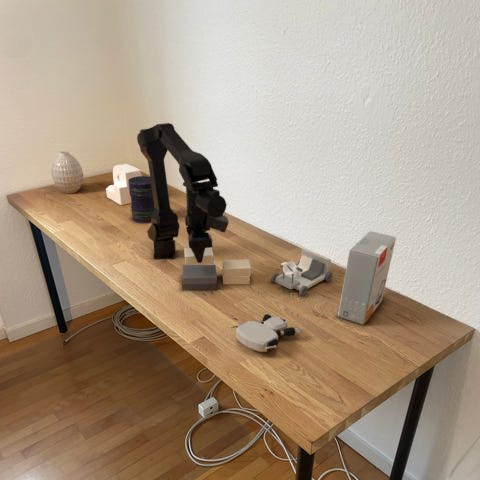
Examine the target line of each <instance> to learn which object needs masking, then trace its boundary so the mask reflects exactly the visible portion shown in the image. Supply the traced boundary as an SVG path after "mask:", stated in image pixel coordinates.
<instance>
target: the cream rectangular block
mask: <svg viewBox="0 0 480 480" xmlns="http://www.w3.org/2000/svg"><path fill="white" fill-rule="evenodd" d="M212 247H213V246H212ZM212 247H211V248H205V251H204V255H203V259H202V262H201V263H198V262H197V260H196V258H195V256H194V254H193V252H192V250H191V248H189V247H183V250H184V252H183V253H184V255H183V256H184V262H185V265H214V264H215V260H214V259H215V257H214V251H213V248H212Z"/></svg>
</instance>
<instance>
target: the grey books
mask: <svg viewBox="0 0 480 480" xmlns="http://www.w3.org/2000/svg"><path fill="white" fill-rule="evenodd" d="M217 278H218V276H217V267H216V264H194V265H186V264H183V265H182V278H181V291H217V283H218V279H217Z"/></svg>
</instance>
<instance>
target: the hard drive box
mask: <svg viewBox="0 0 480 480" xmlns="http://www.w3.org/2000/svg"><path fill="white" fill-rule="evenodd" d="M396 240H397V236H393V235H390V234H385V233H382V232H381V233H380V232H377V231H372V230H369V232H367V233H366V234H365V235H364V236H363V237H362V238H361V239H360V240H359V241H358V242H357V243H356V244H355V245H354V246H352V248H350V249H349V251H348V256H347V262H346V263H347V264H346V267H345V274H344V279H343V283H342V284H343V285H342V290H341V296H340V301H339V305H338V312H337V317H339V318H341V319H344V320H347V321H350V322H352V323H353V322H354V323H356V324H360V325H362V326H363V325H365V324H366V322H367V321H368V320H369V319H370V318H371V316H372V315H373V313H374V312H375V311H376V309H377V308H378V307H379V305H380V304H381V303H382V301H383V297H384V293H385V288H386V285H387V284H386V283H387V280H388V275H389V271H390V266H391V261H392V257H393V254H394V248H395V245H396Z"/></svg>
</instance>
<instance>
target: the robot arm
mask: <svg viewBox="0 0 480 480" xmlns="http://www.w3.org/2000/svg"><path fill="white" fill-rule="evenodd" d="M136 140H137V144H138V146H139V150H140V152H141V154H142V155H143V156H144V158H145V159H146V161H147V164H148V171H149V177H150V179H151V186H152V193H153V200H154V207H155V209H154V211H153V214H152V216H151V223H150V226H149V227H148V229H147V230H146V232H147V237H148V239H150V240H151V241H152V242H153V259H156V260H158V259H160V260H161V259H174V258H175V255H176V252H177V249H176V248H177V247H176V245H177V244H176V240H175V239H174V238H178V237H179V232H180V223H179V217H178V214H177V213H175V211H174V210H173V209H172V208H171V202H170V196H169V188H168V180H167V179H168V178H167V172H166V166H165V165H166V163H165V158H166V156H167V153H169V154H170V155H171V156H172V158H173V159H174V160H175V161H176V162H177V164H178V172H179V174H180V176H181V178H182V180H183V182H182V186H183V187H185V194H186V197H185V198H186V215H185V216H184V223H185V230H186V233H187V235H188V236H187V239H188V240H187V241H188V248H191V250H192V252H193V254H194V256H195V258H196V260H197V262H198V263H201V262H202V259H203V255H204V251H205V248H211V247H213V239H212V235H211V234H210V233H209V232H207V231H211V229H213V230H216V231H219V232H221V233H226V231H227V228H228V226H229V223H230V222H229V218H228V217H227V216H226V215H225V212H226V210H227V201H226V199H225V198H224V196H222V195H221V193H220V190H218V189H215V188H218V187H219V184H218V177H217V176H216V173H215V171H214V168H213V167H212V166H213V165H212V164H211V162H210V160H209V159H208V158H207V157H205V155H204V154H202V153H200V152H197V151H194V150H192V149H191V147H190V146H189V145H188V143H186V141H185V140H184V139H183V138H182V137H181V136H180V134H179V133H178V132H177V131H176V130H175V127H174V125H173V123H170V122H165V123H157V124H155V125H153V126H152V127H149V128H142V129H140V130H139V133H138V134H137V136H136Z"/></svg>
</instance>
